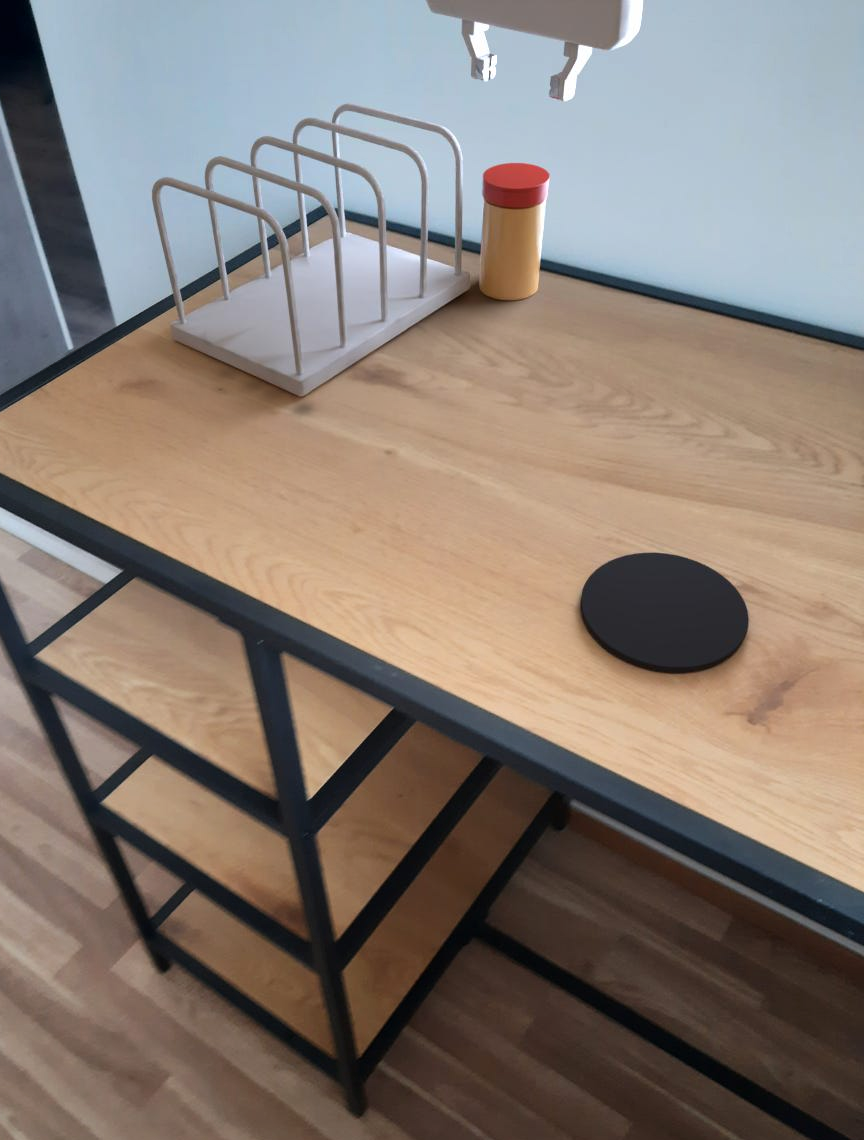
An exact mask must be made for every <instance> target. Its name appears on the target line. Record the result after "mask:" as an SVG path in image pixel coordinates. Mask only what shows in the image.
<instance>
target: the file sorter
mask: <svg viewBox="0 0 864 1140" xmlns="http://www.w3.org/2000/svg"><path fill="white" fill-rule="evenodd" d="M345 112H353V113H358V114H362V115H365V116H369V117H374V118H377V119H382V120H385V121H389V122H394V123H398V124H402V125H406V126H408V127H413V128H417V129H420V130H425V131H429V132H434V133H437V134H439V135H440V136H442V137H443V138H444V139H445V140H446V141H447V142H448V143H449V144H450V146H451V148H452V151H453V153H454V154H453V155H454V159H455V211H454V213H455V214H454V216H455V218H454V222H455V223H454V226H455V227H454V228H455V229H454V264H455V265H454V266H451V265H448V264H446V263H442V262H440V261H436V260H433V259H431V258H428V238H429V236H428V235H429V204H430V203H429V202H430V201H429V197H430V181H429V172H428V169H427V166H426V164H425V161H424V159H423V158H422V156H421V154H419V152H418V151H417V150H416V149H414V148H413V147H412V146H411V145H409V144H406V143H404V142H400V141H398V140H393V139H390V138H387V137H383V136H381V135H376V134H373V133H369V132H366V131H362V130H358V129H355V128H352V127H348V126H344V125H340V124H339V121H340V117H341V116H342V114H343V113H345ZM305 127H315V128H318V129H322V130H325V131H330V132H331V141H332V155H329V154H326V153H324V152H321V151H318V150H315V149H311V148H308V147H305V146H302V145H300V144H301V142H300V141H301V140H300V139H301V133H302V131H303V129H305ZM339 135H342V136H347V137H351V138H355V139H357V140H361V141H364V142H367V143H371V144H374V145H378V146H381V147H385V148H388V149H391V150H395V151H398V152H401V153H404V154H405V155H407V156H408V157H410V159H412V160H413V162H414V163H415V164H416V166H417V168H418V171H419V175H420V182H421V196H420V197H421V200H420V203H421V204H420V205H421V206H420V207H421V208H420V214H421V215H420V249H419V255H418V254H416V253H412V252H409V251H407V250H403V249H401V248H397V247H394V246H391V245H388V244H387V215H386V214H387V213H386V201H385V196H384V192H383V190H382V189H383V188H382V187H381V184H380V182H379V181H378V180H377V177H375V176H374V174H373V173H372V172H371V171H370V170H368V169H367V168H366V167H363V166H362V165H360V164H357V163H354V162H351V161H347V160H345V159H342V158H341V151H340V150H341V149H340V140H339V139H340V137H339ZM264 145H268V146H272V147H275V148H278V149H281V150H284V151H287V152H291V153H293V164H294V165H293V166H294V174H295V180H292V179H290V178H287V177H284V176H281V175H279V174H275V173H272V172H270V171H267V170H264V169H261V168H259V162H258V161H259V159H258V156H259V150H260V149H261V147H262V146H264ZM301 156H303V157H306V158H309V159H311V160H316V161H317V162H321V163H324V164H327V165H330V166H333V167H334V177H335V189H336V191H335V192H336V204H337V212H336V210H335V207H334V206H333V204H332V203H331V201H330V199H329V198H328V197H327V196H326V195H325V194H324V193H322V191H320V190H319V189H317V188H316V187H313V186H310V185H307V184H304V181H303V179H304V178H303V169H302V168H303V167H302V157H301ZM249 158H250V165H249V164H247V163H244V162H241V161H238V160H235V159H232V158H229V157H227V156H223V155H221V156H220V155H219V156H214V157H213V158H211V159H210V160H209V161H208V162H207V164H206V166H205V169H204V184H205V188H204V187H201V186H198V185H194V184H191V183H189V182H187V181H183V180H181V179H180V180H179V179H177V178H174V177H168V176H164V177H160V178H158V179H157V180H156V181H155V182H154V183H153V186H152V189H151V201H152V205H153V211H154V215H155V220H156V224H157V228H158V233H159V239H160V242H161V247H162V251H163V255H164V260H165V264H166V269H167V273H168V277H169V283H170V285H171V291H172V295H173V299H174V304H175V308H176V312H177V313H176V314H177V317H178V318H177V319H176V320H174V321H171V323H170V325H169V326H170V329H171V335H172V339H173V340H174V341H176V342H178V343H181V344H183V345H185V346H187V347H190V348H191V349H194V350H196V351H199V352H200V353H203V354H205V355H207V356H210V357H212V358H214V359H217V360H219V361H221V362H223V363H225V364H228V365H230V366H232V367H234V368H237V369H239V370H241V371H243V372H246V373H248V374H250V375H252V376H255V377H257V378H259V379H260V380H263V381H265V382H268V383H270V384H272V385H274V386H276V387H279V388H281V389H283V390H285V391H287V392H289V393H292V394H294V395H296V396H298V397H304V396H306V395H308V394H309V393H311V392H312V391H313V390H315V389H317V388H318V387H319V386H321V385H323V384H324V383H325V382H327V381H329V380H331V379H332V378H334V377H335V376H336V375H338V374H339V373H341V372H343V371H344V370H346V369H347V368H349V367H351V366H352V365H354V364H355V363H356V362H358V361H360V360H361V359H363V358H364V357H366V356H367V355H369V354H371V353H372V352H374V351H375V350H377V349H378V348H380V347H381V346H383V345H385V344H386V343H387V342H389V341H390V340H392V339H394V338H395V337H397V336H398V335H400V334H401V333H403V332H405V331H406V330H408V329H409V328H410V327H412V326H414V325H416V324H417V323H418V322H420V321H421V320H423V319H425V318H427V317H428V316H429V315H431V314H432V313H434V312H436V311H437V310H439V309H440V308H442V307H444V306H445V305H446V304H448V303H449V302H451V301H452V300H454V299H456V298H458V297H459V296H460V295H462V294H463V293H465V292H467V291H468V290H470V289H471V273H470V272H469V271H466V270H464V269H462V256H463V255H462V253H463V252H462V250H463V191H464V190H463V188H464V185H463V177H464V174H463V172H464V170H463V167H464V166H463V165H464V163H463V162H464V161H463V153H462V149H461V146H460V143H459V142H458V139H457V138H456V136H455V135H454V134H453V133H452V131H451V130H449V129H448V128H447V127H445V126H444V125H441V124H439V123H434V122H429V121H426V120H422V119H419V118H414V117H411V116H407V115H402V114H399V113H394V112H390V111H386V110H383V109H377V108H374V107H369V106H365V105H361V104H357V103H352V102H348V103H343V104H341V105H340V106H338V107H337V108H336V109H335V110H334V112H333V115H332V118H331V122H330V121H327V120H323V119H320V118H316V117H306V118H303V119H301V120H300V121H298V123H297V124H296V125H295V127H294V129H293V133H292V142H289V141H286V140H284V139H281V138H277V137H273V136H269V135H263V136H261V137H259V138H257V139H256V140H255V141H254V142H253V144H252V145H251V148H250V155H249ZM219 165H220V166H224V167H227V168H230V169H233V170H236V171H238V172H242V173H244V174H247V175H250V176H251V178H252V186H253V195H254V196H253V197H254V202H255V205H254V204H250V203H247V202H244V201H241V200H240V199H239V200H238V199H236V198H233V197H230V196H227V195H225V194H221V193H218V192H215V190H214V182H213V174H214V169H215V167H216V166H219ZM342 170H345V171H348V172H350V173H353V174H356V175H358V176H361V177H362V178H363V179H364V180H366V182H368V184H369V185H370V187H371V188H372V190H373V192H374V195H375V198H376V199H375V200H376V205H377V220H378V221H377V226H378V241H377V240H373V239H370V238H367V237H363V236H361V235H357V234H355V233H351V232H348V231H347V230H346V216H345V205H344V204H345V201H344V191H343V180H342V179H343V178H342ZM261 180H263V181H267V182H270V183H272V184H275V185H278V186H281V187H284V188H286V189H289V190H292V191H295V192H296V193H297V204H298V212H299V222H300V233H301V234H300V235H301V244H302V252H301V253H300V254H297V255H296V256H294V257H292V258H291V253H290V247H289V243H288V239H287V237H286V234H285V232H284V230H283V228H282V226H281V225H280V223H279V222H278V220H277V219H276V218H275V217H274V216H273V215H272V214H271V213H270V212H268V211H267V210H265V209H264V206H263V199H262V198H263V197H262V187H261ZM165 186H168V187H171V188H174V189H177V190H180V191H182V192H186V193H189V194H192V195H194V196H198V197H200V198H204V199H206V200H207V203H208V210H209V215H210V222H211V228H212V234H213V241H214V247H215V252H216V259H217V266H218V271H219V279H220V284H221V289H222V290H221V291H222V295H221V296H219V297H217V298H215V299H213V300H212V301H210V302H208V303H206V304H204V305H202V306H200V307H198V308H196V309H195V310H193V311H191V312H189V313H187V314H185V308H184V303H183V298H182V293H181V289H180V285H179V280H178V276H177V275H178V274H177V272H176V266H175V261H174V258H173V253H172V249H171V244H170V240H169V235H168V231H167V227H166V221H165V216H164V212H163V207H162V206H163V205H162V199H161V191H162V189H163V187H165ZM305 195H306V196H309V197H312V198H314V199H315V200H317V201H318V202H319V203H320V204H321V205H322V206H323V208H324V209H325V211H326V213H327V214H328V218H329V221H330V224H331V231H332V236H331V237H328V238H326V239H325V240H323V241H322V242H320V243H318V244H316V245H314V246H312V247H310V244H309V234H308V232H309V231H308V222H307V221H308V220H307V212H306V202H305V200H306V199H305ZM216 203H218V204H221V205H223V206H227V207H229V208H232V209H236V210H238V211H241V212H244V213H247V214H249V215H252V216H255V217H256V218H257V225H258V232H259V233H258V234H259V241H260V248H261V257H262V263H263V271H264V273H262V274H260V275H258V276H257V277H255V278H253V279H251V280H249V281H247V282H245V283H243V284H242V285H240V286H237V287H235V288H234V289H232V290H230V286H229V281H228V274H227V268H226V262H225V255H224V250H223V248H224V247H223V241H222V236H221V230H220V223H219V217H218V211H217V205H216ZM337 214H338V215H337ZM265 223H266V224H268V226H269V227H270V228H271V230H272V232H274V234H275V237H276V238H277V241H278V244H279V249H280V256H281V261H282V263H280V264H279V265H277V266H275V267H274V268H273V267H272V268H271V262H270V255H269V246H268V240H267V239H268V238H267V231H266V224H265Z"/></svg>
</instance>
